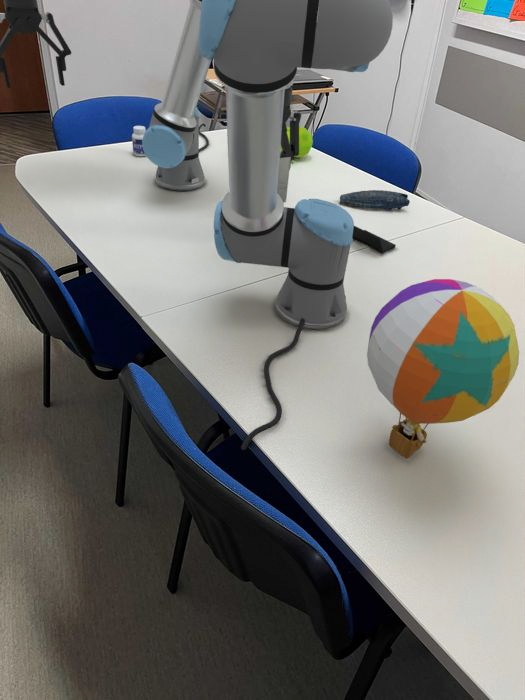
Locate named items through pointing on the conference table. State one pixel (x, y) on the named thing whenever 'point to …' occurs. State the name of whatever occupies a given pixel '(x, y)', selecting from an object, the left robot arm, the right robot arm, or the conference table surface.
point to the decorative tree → (302, 141)
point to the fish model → (376, 199)
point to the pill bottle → (138, 140)
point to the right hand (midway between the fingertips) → (267, 185)
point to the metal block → (283, 175)
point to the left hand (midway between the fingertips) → (35, 85)
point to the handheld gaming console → (372, 240)
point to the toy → (440, 356)
